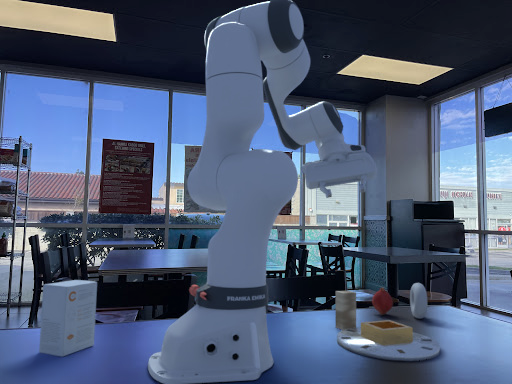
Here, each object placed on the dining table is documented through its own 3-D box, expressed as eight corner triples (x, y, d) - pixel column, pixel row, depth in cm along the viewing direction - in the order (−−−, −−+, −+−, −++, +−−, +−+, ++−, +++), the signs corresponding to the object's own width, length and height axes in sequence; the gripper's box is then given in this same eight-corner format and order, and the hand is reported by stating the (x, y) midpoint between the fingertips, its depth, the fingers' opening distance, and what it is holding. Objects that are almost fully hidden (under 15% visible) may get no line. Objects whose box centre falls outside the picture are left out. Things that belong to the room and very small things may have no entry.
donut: (429, 322, 107) (428, 285, 108) (415, 321, 107) (415, 284, 108) (421, 315, 116) (420, 280, 117) (409, 314, 117) (408, 280, 118)
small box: (71, 341, 83) (75, 279, 84) (94, 345, 80) (98, 281, 82) (37, 352, 75) (42, 283, 76) (62, 357, 73) (66, 286, 74)
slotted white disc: (379, 366, 72) (379, 342, 72) (319, 336, 91) (319, 317, 91) (463, 354, 79) (462, 333, 80) (391, 329, 99) (390, 312, 99)
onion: (370, 312, 119) (370, 285, 120) (390, 313, 118) (390, 286, 119) (374, 316, 113) (373, 288, 114) (394, 317, 112) (394, 289, 113)
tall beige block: (342, 330, 97) (342, 293, 98) (335, 327, 100) (335, 291, 101) (356, 329, 98) (356, 292, 99) (348, 326, 101) (348, 290, 102)
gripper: (299, 156, 114) (308, 192, 105) (369, 144, 113) (384, 180, 104) (300, 170, 119) (309, 206, 110) (368, 159, 118) (381, 194, 109)
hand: (346, 193), depth 107 cm, fingers open, 8 cm apart
